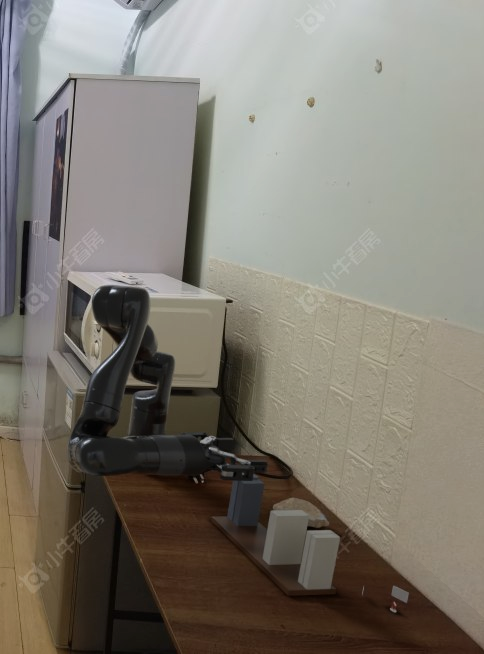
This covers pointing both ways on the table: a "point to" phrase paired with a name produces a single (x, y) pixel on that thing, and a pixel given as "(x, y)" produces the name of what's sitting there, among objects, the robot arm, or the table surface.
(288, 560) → the white rectangular block
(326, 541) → the cream books
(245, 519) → the grey books
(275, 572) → the shelf board
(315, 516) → the stone
